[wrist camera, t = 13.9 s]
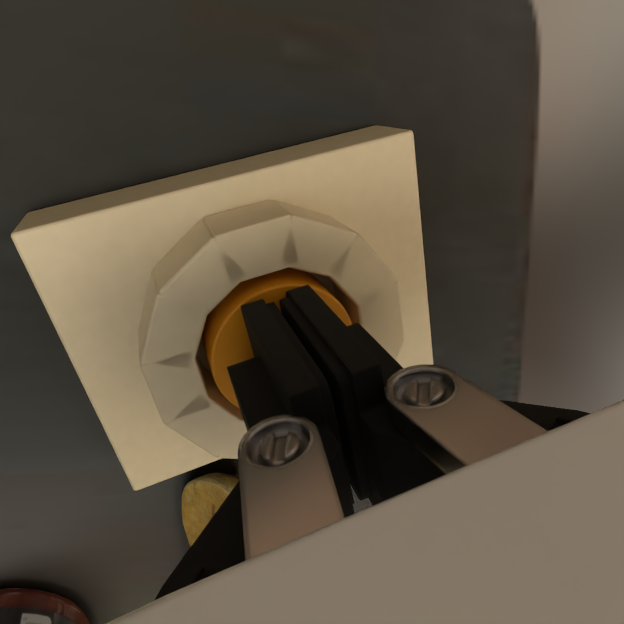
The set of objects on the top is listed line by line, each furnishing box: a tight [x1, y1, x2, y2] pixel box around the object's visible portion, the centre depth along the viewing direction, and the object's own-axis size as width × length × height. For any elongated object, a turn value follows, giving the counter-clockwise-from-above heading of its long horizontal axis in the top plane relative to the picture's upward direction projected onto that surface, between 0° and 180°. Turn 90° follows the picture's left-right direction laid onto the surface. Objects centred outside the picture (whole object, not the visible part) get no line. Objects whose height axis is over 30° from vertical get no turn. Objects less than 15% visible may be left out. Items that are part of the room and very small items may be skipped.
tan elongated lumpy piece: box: [182, 462, 239, 547], centre depth 20 cm, size 3×14×3 cm
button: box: [202, 268, 352, 408], centre depth 13 cm, size 4×4×2 cm
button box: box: [11, 125, 433, 491], centre depth 14 cm, size 8×10×4 cm
